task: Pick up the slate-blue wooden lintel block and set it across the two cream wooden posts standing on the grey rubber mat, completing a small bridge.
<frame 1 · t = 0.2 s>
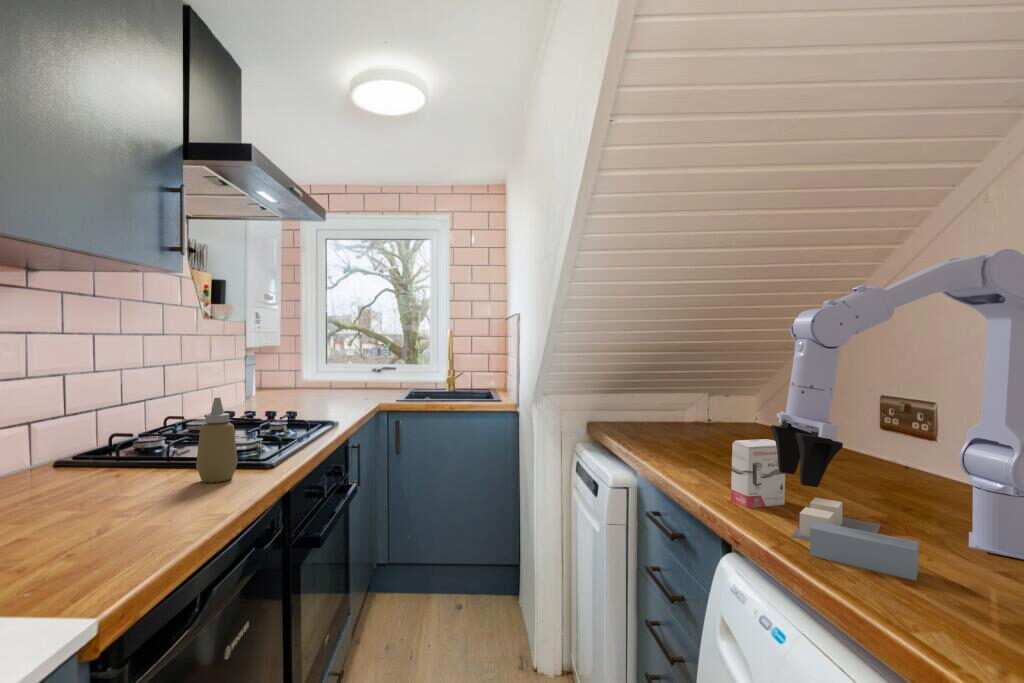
hand: (797, 479, 78), 10 cm above the worktop, tool pointing down, fingers open, 7 cm apart
ink box: (758, 505, 99), on the worktop
mat: (837, 532, 85), on the worktop
post b: (816, 534, 83), resting on mat
lintel: (862, 567, 72), on the worktop
squeeze bottle: (217, 480, 115), on the worktop
post a: (826, 523, 88), resting on mat
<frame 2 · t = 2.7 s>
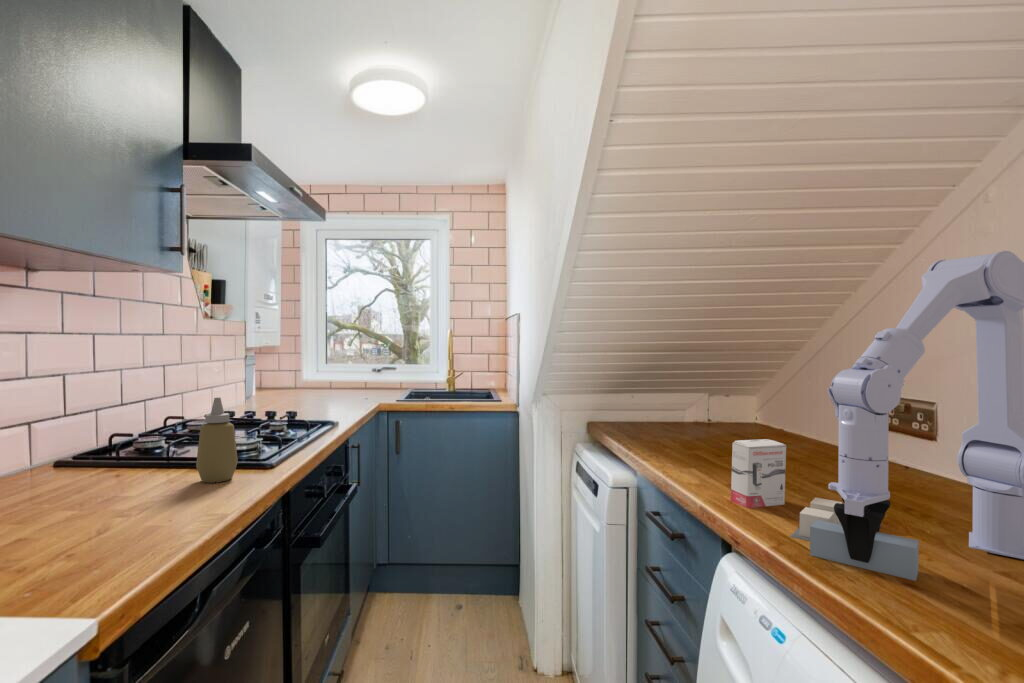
hand: (862, 555, 72), 1 cm above the worktop, tool pointing down, fingers closed on lintel, 4 cm apart
lintel: (862, 565, 72), on the worktop, touching gripper
everything else where it was.
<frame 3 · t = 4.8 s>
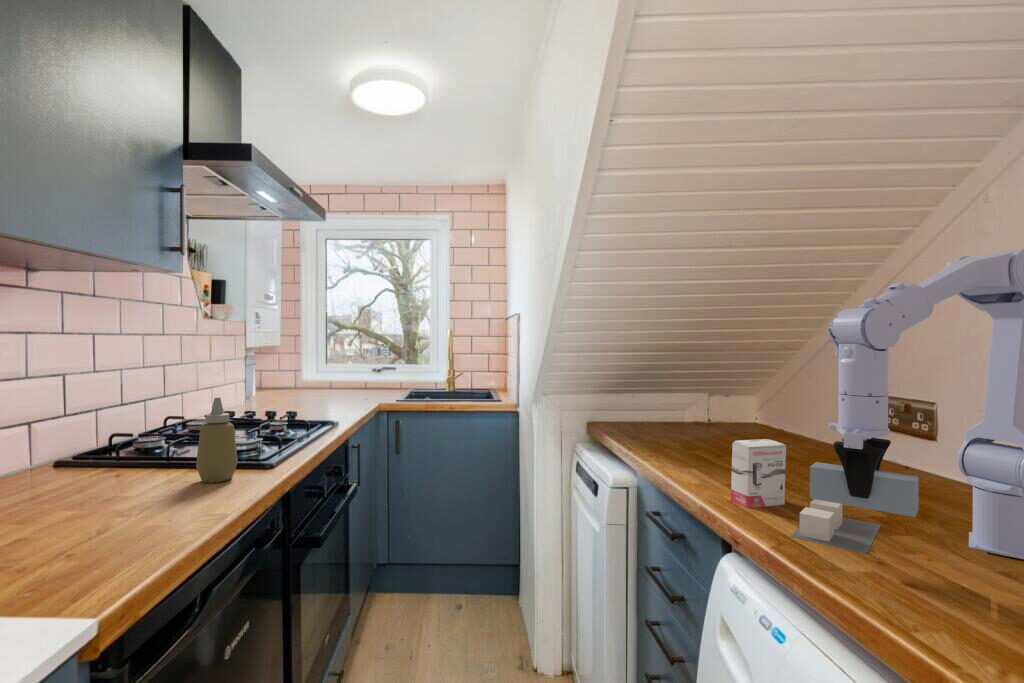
hand: (862, 493, 73), 10 cm above the worktop, tool pointing down, fingers closed on lintel, 4 cm apart
lintel: (862, 503, 73), point 8 cm above the worktop, touching gripper
everything else where it was.
when the fingers open (6 cm above the worktop, at t = 7.0 s): lintel drops 1 cm, resting on post a, post b.
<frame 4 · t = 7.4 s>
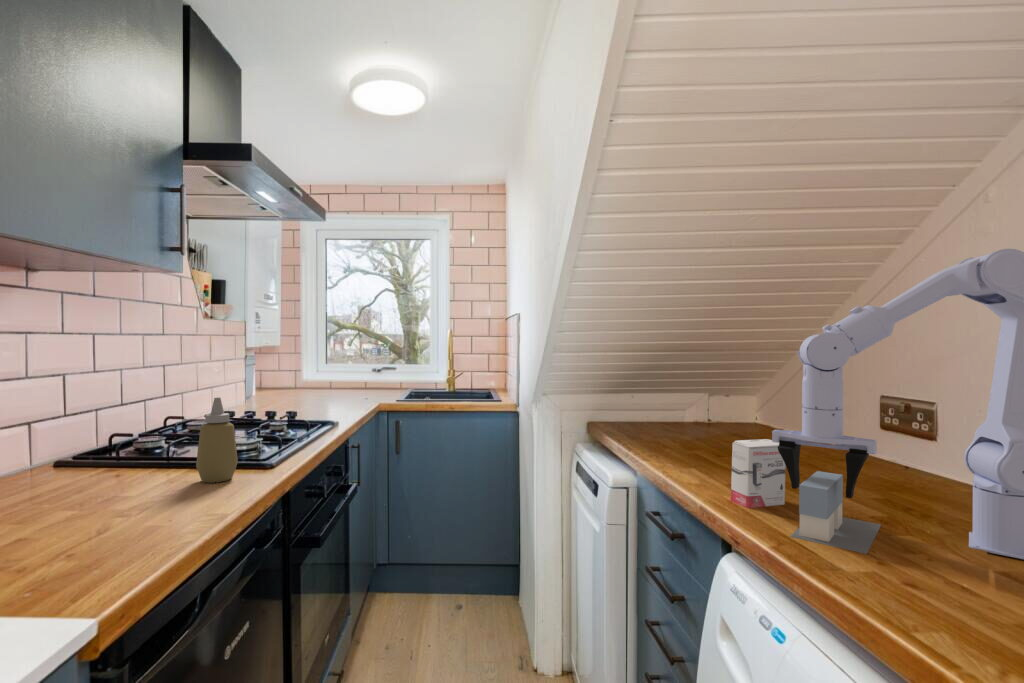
hand: (821, 491, 85), 6 cm above the worktop, tool pointing down, fingers open, 7 cm apart
post b: (816, 534, 83), resting on mat, touching lintel
lintel: (821, 507, 85), point 4 cm above the worktop, touching post a, post b
post a: (826, 523, 88), resting on mat, touching lintel
everything else where it was.
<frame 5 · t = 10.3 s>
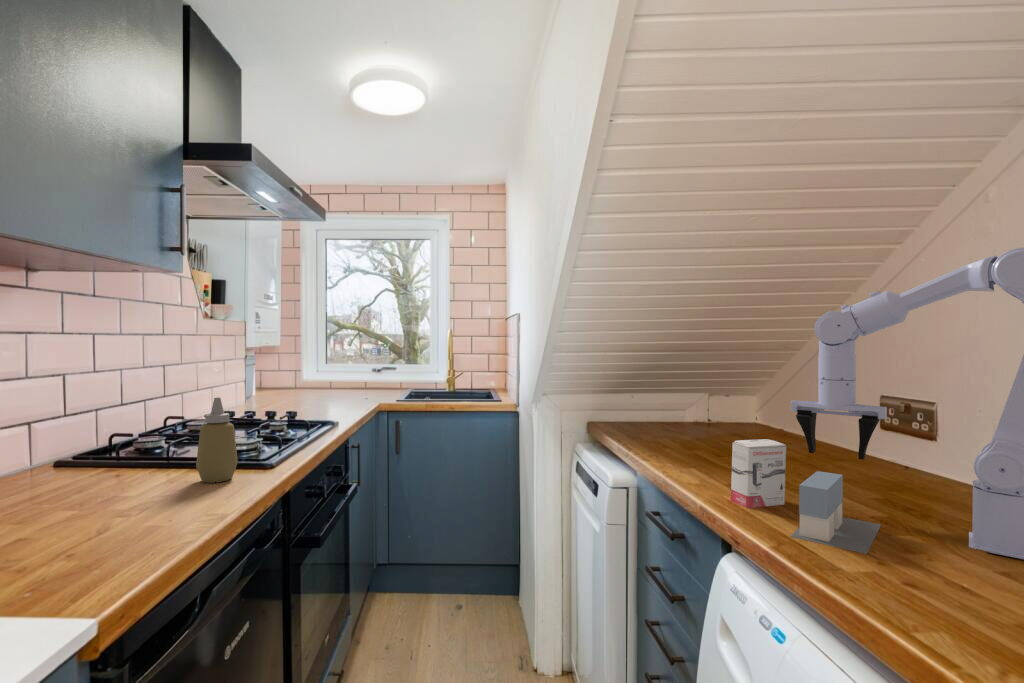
hand: (836, 455, 94), 10 cm above the worktop, tool pointing down, fingers open, 7 cm apart
nothing on the worktop moved.
at the end: lintel 0.0 cm from the target spot, point 3.9 cm above the worktop; lintel tilted 0°; the gripper is holding nothing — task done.
